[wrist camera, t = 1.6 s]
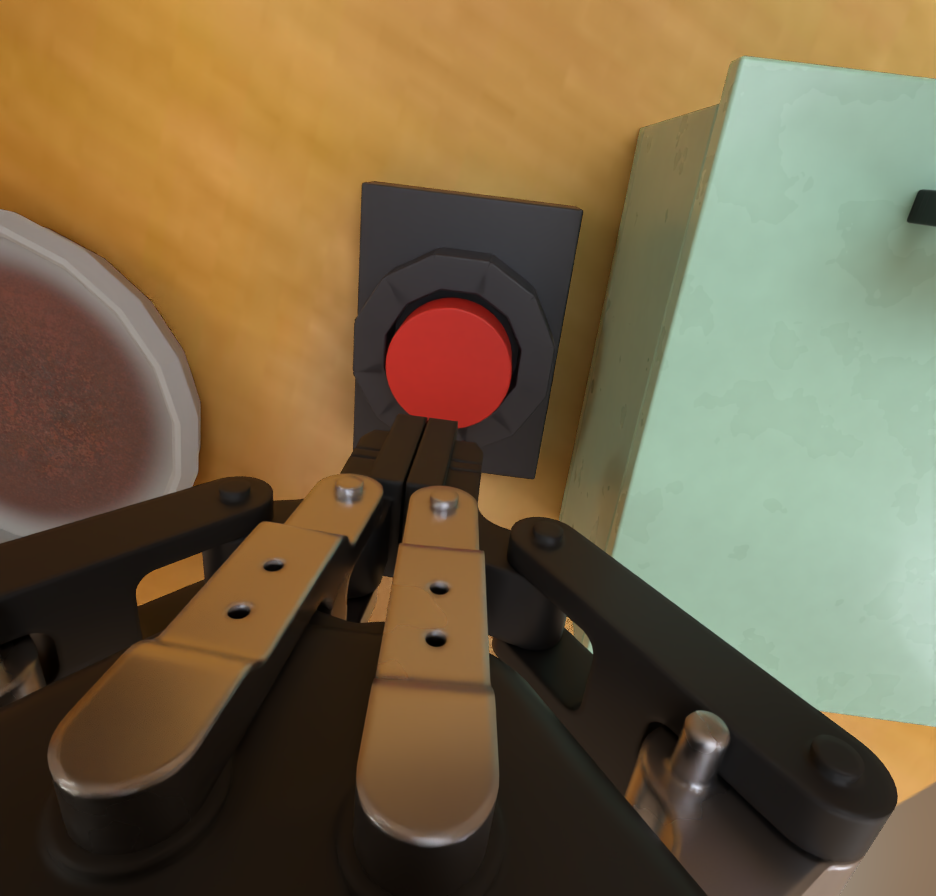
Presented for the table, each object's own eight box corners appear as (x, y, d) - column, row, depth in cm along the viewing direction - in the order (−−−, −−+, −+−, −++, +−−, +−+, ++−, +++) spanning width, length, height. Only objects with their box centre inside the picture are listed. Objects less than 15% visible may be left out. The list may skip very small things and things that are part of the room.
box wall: (639, 127, 22) (718, 102, 14) (1031, 175, 22) (1358, 180, 13) (558, 517, 29) (576, 660, 21) (852, 557, 29) (990, 716, 20)
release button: (398, 289, 21) (388, 299, 20) (520, 305, 21) (520, 316, 20) (391, 403, 23) (381, 421, 22) (503, 418, 23) (502, 436, 22)
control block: (373, 181, 23) (347, 183, 20) (578, 206, 23) (590, 213, 20) (362, 437, 28) (340, 477, 24) (533, 460, 28) (536, 503, 24)
